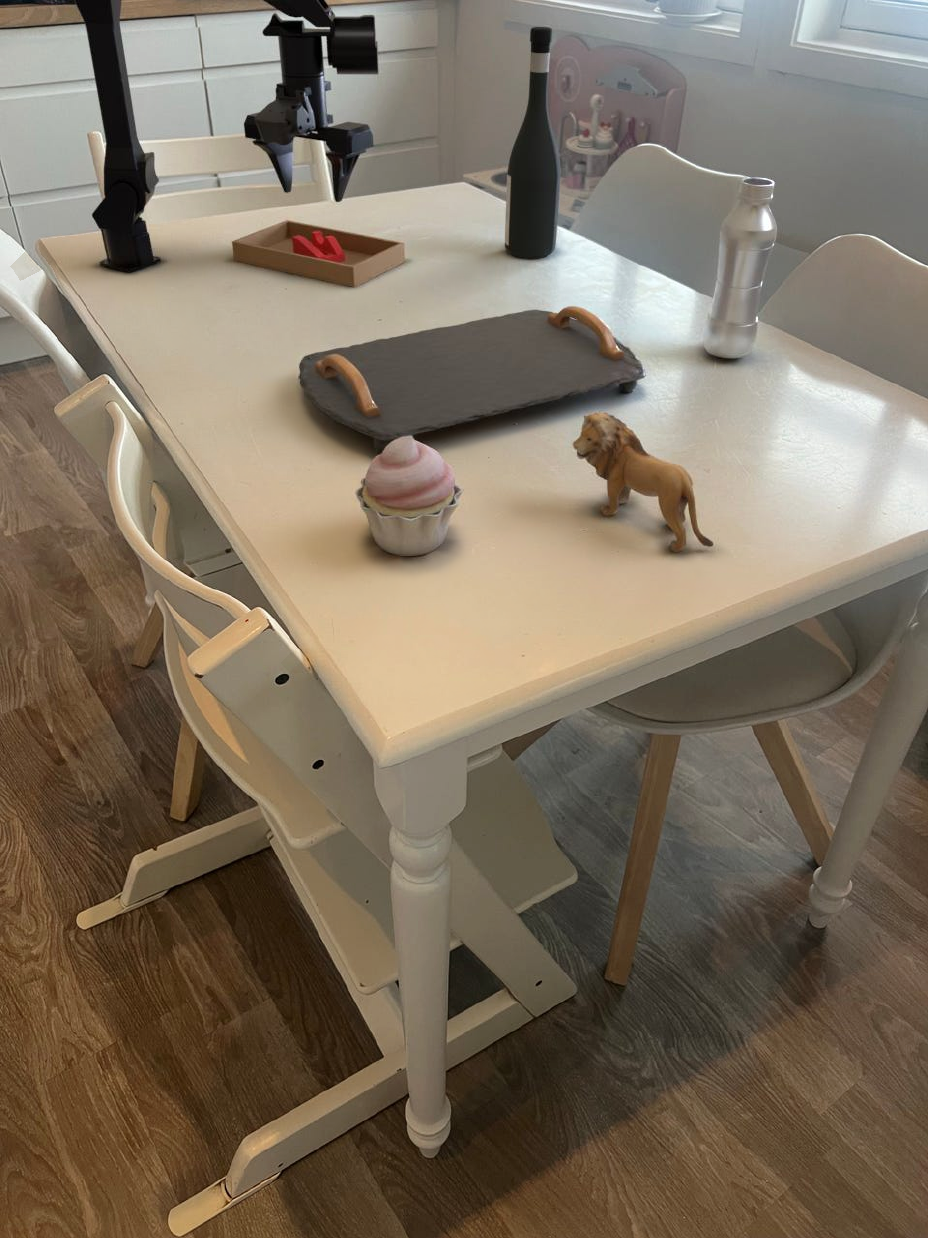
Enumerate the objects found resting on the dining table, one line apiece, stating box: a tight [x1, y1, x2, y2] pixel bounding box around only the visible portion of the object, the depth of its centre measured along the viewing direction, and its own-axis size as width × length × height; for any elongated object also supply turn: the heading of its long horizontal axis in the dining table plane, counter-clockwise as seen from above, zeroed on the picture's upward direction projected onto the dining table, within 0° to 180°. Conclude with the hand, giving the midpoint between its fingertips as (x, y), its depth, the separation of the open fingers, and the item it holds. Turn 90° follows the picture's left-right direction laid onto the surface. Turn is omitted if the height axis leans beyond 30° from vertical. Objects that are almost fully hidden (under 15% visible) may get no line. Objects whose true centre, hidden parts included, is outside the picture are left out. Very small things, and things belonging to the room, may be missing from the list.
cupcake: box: [354, 435, 465, 557], centre depth 82 cm, size 9×9×10 cm
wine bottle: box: [504, 26, 562, 259], centre depth 140 cm, size 8×8×30 cm
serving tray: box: [298, 305, 647, 455], centre depth 108 cm, size 39×23×6 cm, turn 119°
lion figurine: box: [572, 411, 714, 553], centre depth 85 cm, size 15×5×9 cm, turn 50°
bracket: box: [292, 231, 345, 263], centre depth 144 cm, size 6×5×3 cm
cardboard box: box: [231, 219, 406, 288], centre depth 144 cm, size 22×13×3 cm, turn 60°
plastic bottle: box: [702, 177, 778, 359], centre depth 112 cm, size 6×7×20 cm
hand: (312, 196), depth 139 cm, fingers open, 9 cm apart
